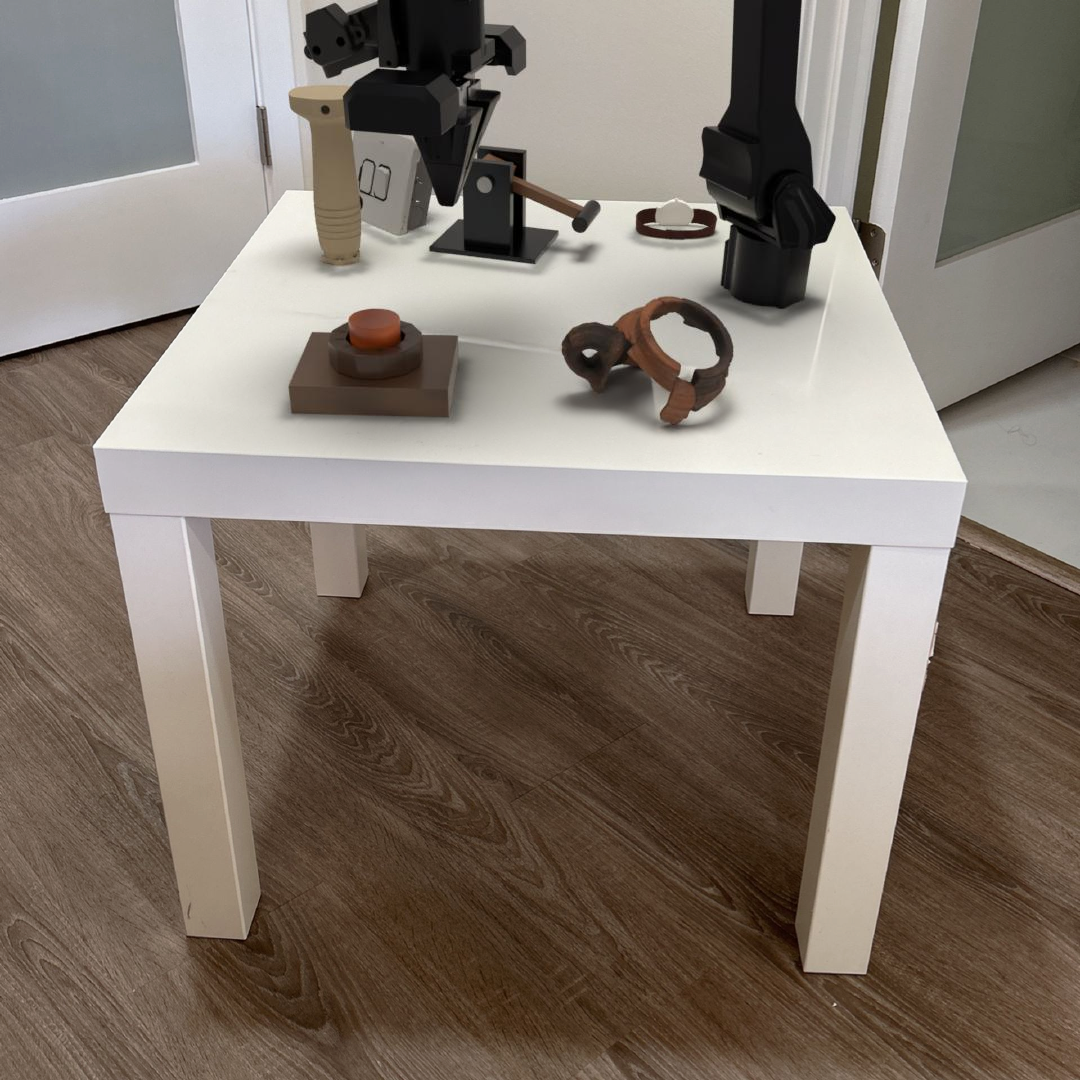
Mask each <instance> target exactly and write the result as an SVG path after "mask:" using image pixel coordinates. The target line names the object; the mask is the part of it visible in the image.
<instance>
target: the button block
mask: <svg viewBox="0 0 1080 1080" xmlns="http://www.w3.org/2000/svg"><path fill="white" fill-rule="evenodd" d="M400 330H401V342H400V343H398V344H397V345H395V346H393V347H388V348H383V349H362V348H359V347H355V346H352V345H351V344H350V334H349V322H348V321H346V322H345V323H342V324H341V325H339V326H337V327H336V328H333V329H332V330H331V331H330V332H329V331H328V332H326V331H311V333H310V335H309V338H308V340H307V341H306V345H305V348H304V349H303V352H302V354H301V356H300V358H299V360H298V362H297V365H296V367H295V370H294V372H293V375H292V377H291V379H290V381H289V384H288V395H289V403H290V412H291V413H290V414H293V415H294V414H295V415H296V414H297V415H298V414H299V415H301V414H302V415H332V416H333V415H338V416H372V417H373V416H375V417H376V416H378V417H412V418H413V417H416V418H418V417H420V418H449V417H450V413H451V408H452V402H453V396H454V391H455V384H456V380H457V373H458V367H459V359H460V358H459V336H458V335H457V334H456V335H455V334H454V335H453V334H451V335H450V334H423V333H422V331H420V329H419V328H417V327H416V326H415V325H414V324H413V323H411V322H407V321H404V320H401V319H400Z"/></svg>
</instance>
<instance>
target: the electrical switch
mask: <svg viewBox="0 0 1080 1080" xmlns="http://www.w3.org/2000/svg"><path fill="white" fill-rule="evenodd" d="M352 142H353V151H354V159H355V167H356V175H357V182H358V189H359V197H360V207H361V209H360V210H361V222H364V223H366V224H368V225H370V226H371V227H372V226H373V227H375V228H377V229H379V230H382V231H383V232H386V233H388V234H390V235H393V236H397V237H401V236H405V235H407V233H408V231H410V230H415V229H418V228H420V227H421V228H422V227H424V226H426V224H427V219H428V215H429V209H430V202H431V197H432V192H433V187H432V184H431V181H430V178H429V176H428V173H427V170H426V167H425V164H424V161H423V159H422V156H421V154H420V151H419V149H418V146H417V144H416V142H415V139H414V137H413V136H409V135H397V134H386V133H374V132H362V131H353V135H352Z"/></svg>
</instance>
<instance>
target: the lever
mask: <svg viewBox="0 0 1080 1080" xmlns="http://www.w3.org/2000/svg"><path fill="white" fill-rule="evenodd" d="M483 159H486V160H496V161H504V160H502V159H499V158H497V157H495V156H493V155H491V154H488V155H486V156H485V157H484V158H483ZM505 162H506V161H505ZM515 169H516V166H515V165H513V192H515V193H517V194H519V195H522V196H524V197H526V199H529V200H531V201H533V202H535V203H537V204H539V205H542V206H544V207H546V208H549V209H551V210H553V211H555V212H558V213H560V214H562V215H564V216H567V217H568V218H571V219H572V221H571V228H572V230H573V231H574V232H575V233H578V234H583V233H585V232H586V231H587V230H588V228H589V227H590V226H591V224H592V223H593V222H594V221H595V219H596V218H597V217H598V215H599V214H600V213H601V210H602V208H601V207H602V206H601V204H600V202H598V201H597V200H596V199H590V200H588V201H587V202H586V203H585V204H584V206H583V205H581V204H578V203H576V202H574V201H572V200H570V199H568V198H565V197H563V196H560V195H559V194H556V193H554V192H551V191H549V190H547V189H545V188H543V187H540V186H538V185H536V184H534V183H531V182H530V181H527V180H526V181H525V180H522V179H520V178H518V177H516V176H514V172H515Z"/></svg>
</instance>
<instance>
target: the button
mask: <svg viewBox="0 0 1080 1080" xmlns="http://www.w3.org/2000/svg"><path fill="white" fill-rule="evenodd" d="M347 320H348V321H347V322H349V334H350V344H351V345H352V346H355V347H359V348H362V349H383V348H388V347H393V346H395V345H397V344H398V343H400V342H401V330H400V320H401V317H400V315H399V313H397V312H395V311H393V310H390V309H385V308H366V309H361V310H357V311H355V312H353V313H351V314H350V315H349V317H348V319H347Z"/></svg>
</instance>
